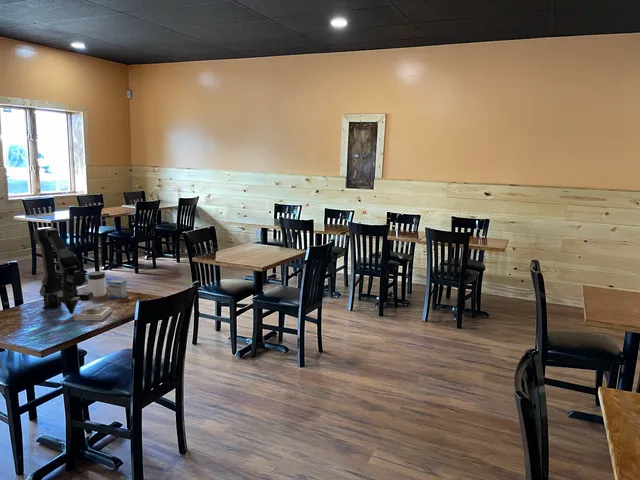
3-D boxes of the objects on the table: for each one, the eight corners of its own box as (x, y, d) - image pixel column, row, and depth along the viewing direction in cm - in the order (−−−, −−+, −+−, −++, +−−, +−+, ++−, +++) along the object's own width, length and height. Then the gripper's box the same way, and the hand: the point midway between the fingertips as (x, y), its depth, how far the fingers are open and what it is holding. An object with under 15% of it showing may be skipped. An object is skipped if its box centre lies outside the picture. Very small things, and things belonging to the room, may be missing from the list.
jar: (91, 298, 246) (90, 276, 244) (86, 294, 252) (84, 273, 249) (109, 294, 252) (107, 273, 250) (103, 291, 258) (102, 270, 255)
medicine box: (108, 297, 247) (107, 281, 245) (113, 295, 251) (112, 279, 250) (122, 298, 246) (121, 282, 244) (127, 296, 250) (126, 280, 249)
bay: (73, 320, 213) (73, 315, 213) (84, 312, 224) (84, 307, 224) (101, 320, 214) (101, 314, 214) (111, 312, 225) (110, 307, 224)
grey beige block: (81, 318, 216) (81, 310, 215) (86, 315, 221) (85, 307, 220) (99, 318, 216) (98, 310, 216) (103, 315, 221) (103, 307, 221)
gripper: (39, 286, 207) (42, 320, 210) (82, 286, 208) (85, 320, 211) (51, 279, 218) (54, 311, 221) (92, 280, 219) (95, 311, 222)
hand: (71, 313), depth 218 cm, fingers closed
